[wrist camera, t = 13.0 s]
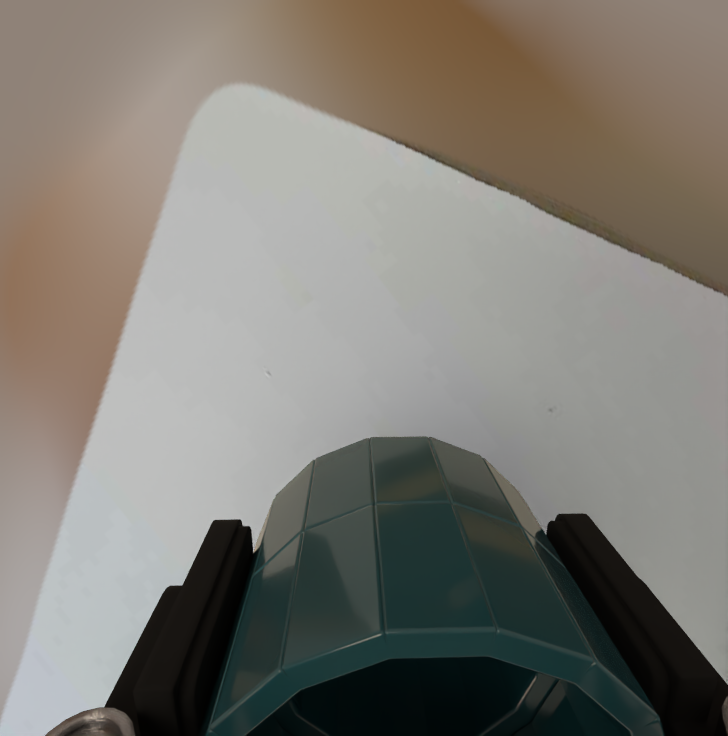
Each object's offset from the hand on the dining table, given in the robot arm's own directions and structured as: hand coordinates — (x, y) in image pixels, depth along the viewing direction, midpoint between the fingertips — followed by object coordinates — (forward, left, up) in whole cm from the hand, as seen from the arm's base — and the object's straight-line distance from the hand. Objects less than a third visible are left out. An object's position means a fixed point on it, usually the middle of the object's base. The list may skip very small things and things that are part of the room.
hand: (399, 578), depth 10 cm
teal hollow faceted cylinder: (0, 0, -1) cm, 1 cm away
